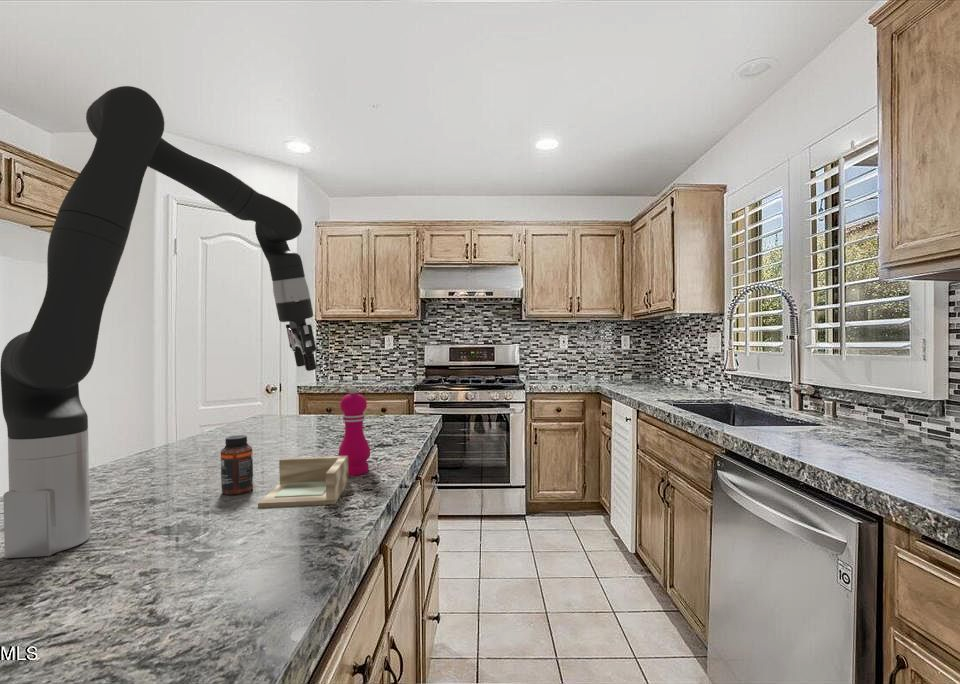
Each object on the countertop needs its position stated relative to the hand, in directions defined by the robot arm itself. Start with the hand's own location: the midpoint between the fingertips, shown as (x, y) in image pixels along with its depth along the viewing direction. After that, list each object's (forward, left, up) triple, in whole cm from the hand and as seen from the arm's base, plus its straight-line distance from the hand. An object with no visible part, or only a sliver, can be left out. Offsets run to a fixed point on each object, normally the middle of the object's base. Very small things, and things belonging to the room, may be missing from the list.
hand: (306, 367), depth 113 cm
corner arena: (-16, -4, -25) cm, 30 cm away
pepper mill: (-1, -11, -25) cm, 27 cm away
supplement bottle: (-12, +11, -25) cm, 30 cm away
